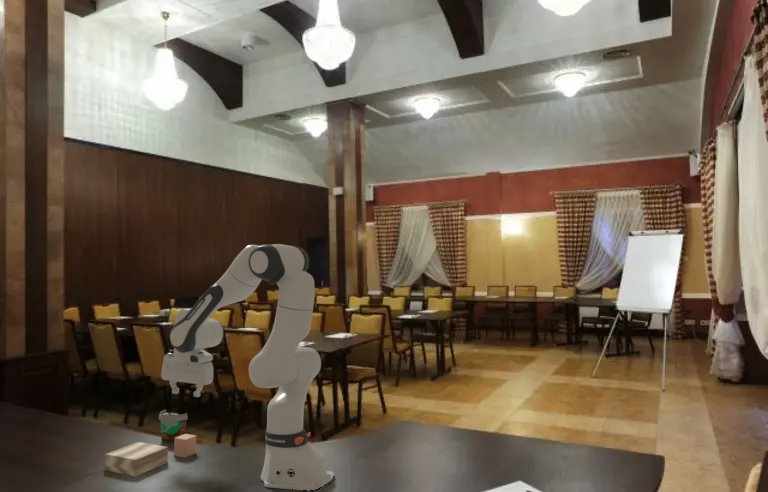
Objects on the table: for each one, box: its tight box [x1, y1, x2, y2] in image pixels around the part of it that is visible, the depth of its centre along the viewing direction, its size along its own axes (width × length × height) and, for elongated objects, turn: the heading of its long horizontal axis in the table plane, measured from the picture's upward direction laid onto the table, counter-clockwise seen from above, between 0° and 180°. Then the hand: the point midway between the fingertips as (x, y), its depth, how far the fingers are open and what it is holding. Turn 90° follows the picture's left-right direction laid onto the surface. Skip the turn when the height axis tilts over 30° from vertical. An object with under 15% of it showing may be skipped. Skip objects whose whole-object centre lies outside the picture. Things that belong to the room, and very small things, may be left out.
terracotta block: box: [173, 433, 197, 458], centre depth 184 cm, size 5×5×6 cm
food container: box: [158, 409, 189, 443], centre depth 198 cm, size 12×6×10 cm, turn 62°
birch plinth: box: [104, 441, 169, 477], centre depth 172 cm, size 13×13×5 cm
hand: (186, 395), depth 185 cm, fingers open, 8 cm apart
